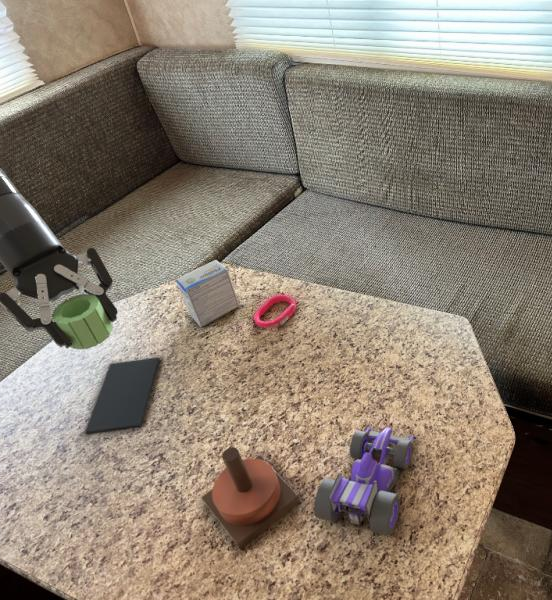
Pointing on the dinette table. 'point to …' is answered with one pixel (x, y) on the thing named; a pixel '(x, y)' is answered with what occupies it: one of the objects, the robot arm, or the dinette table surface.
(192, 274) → the medicine box
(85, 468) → the dinette table surface
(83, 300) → the green ring
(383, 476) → the toy race car
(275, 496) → the stand
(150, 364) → the mat
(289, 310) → the fitness band
